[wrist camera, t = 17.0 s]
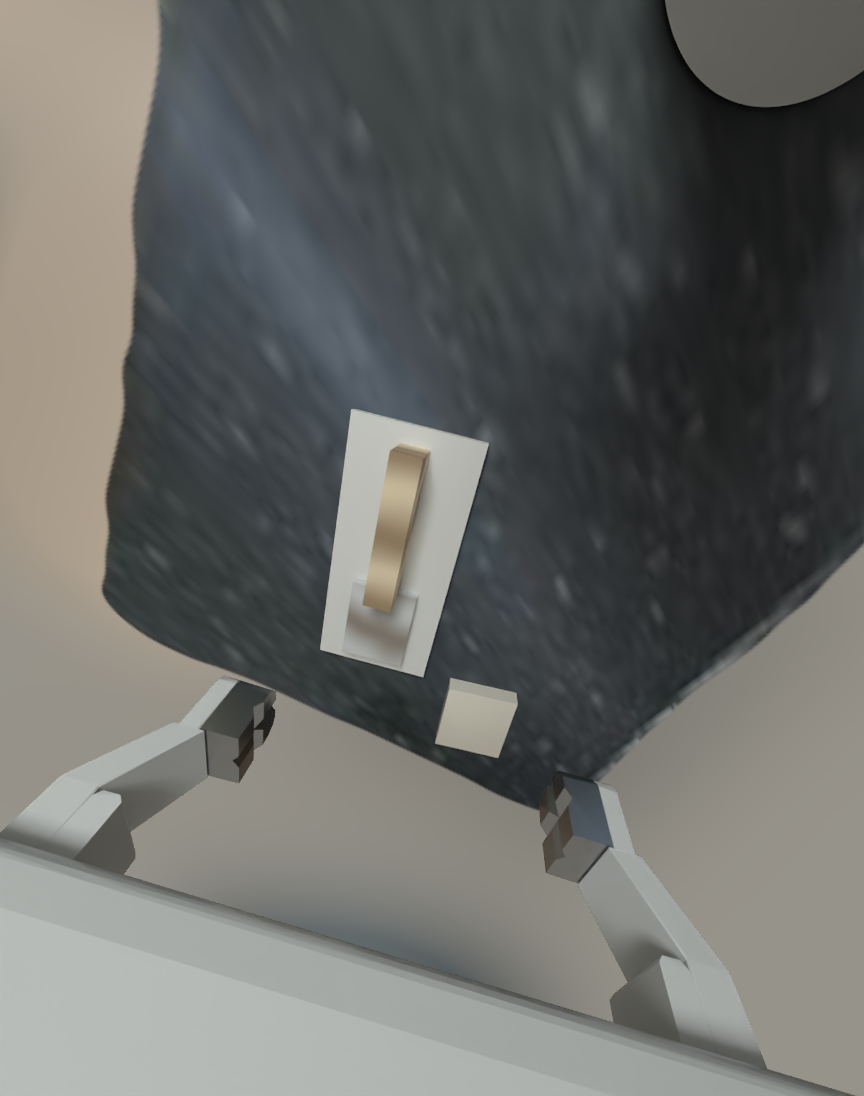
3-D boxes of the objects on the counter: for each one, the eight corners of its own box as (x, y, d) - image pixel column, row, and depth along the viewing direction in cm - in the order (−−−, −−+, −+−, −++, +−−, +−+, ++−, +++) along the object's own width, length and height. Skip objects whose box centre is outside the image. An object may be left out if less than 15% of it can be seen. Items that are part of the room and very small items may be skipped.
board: (354, 408, 30) (351, 409, 29) (488, 442, 30) (488, 444, 29) (323, 644, 40) (320, 649, 39) (424, 671, 40) (423, 677, 39)
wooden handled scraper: (379, 437, 30) (364, 444, 26) (452, 456, 30) (448, 465, 26) (345, 644, 39) (330, 671, 35) (402, 660, 38) (393, 688, 35)
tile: (449, 688, 38) (435, 743, 41) (517, 704, 38) (498, 757, 41) (450, 675, 40) (436, 728, 43) (515, 690, 40) (497, 742, 43)
